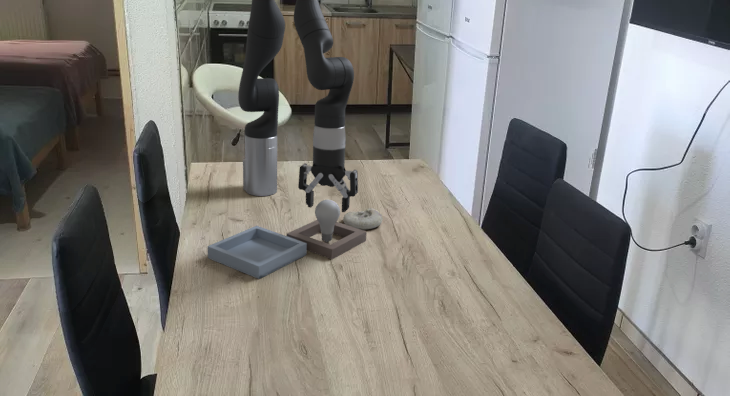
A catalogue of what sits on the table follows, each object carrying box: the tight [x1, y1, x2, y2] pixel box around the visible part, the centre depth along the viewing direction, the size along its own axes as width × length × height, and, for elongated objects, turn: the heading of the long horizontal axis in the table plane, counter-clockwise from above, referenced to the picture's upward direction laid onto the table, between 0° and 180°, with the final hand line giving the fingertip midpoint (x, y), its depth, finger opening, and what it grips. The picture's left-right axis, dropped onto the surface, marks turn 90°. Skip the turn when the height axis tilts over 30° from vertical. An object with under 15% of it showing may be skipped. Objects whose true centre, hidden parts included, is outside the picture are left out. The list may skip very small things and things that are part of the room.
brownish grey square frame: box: [286, 219, 367, 260], centre depth 160 cm, size 14×14×2 cm
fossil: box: [342, 207, 383, 231], centre depth 173 cm, size 11×4×10 cm
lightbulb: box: [314, 199, 341, 243], centre depth 159 cm, size 6×6×11 cm
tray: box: [206, 225, 308, 280], centre depth 151 cm, size 16×16×3 cm
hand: (327, 208), depth 157 cm, fingers open, 8 cm apart
